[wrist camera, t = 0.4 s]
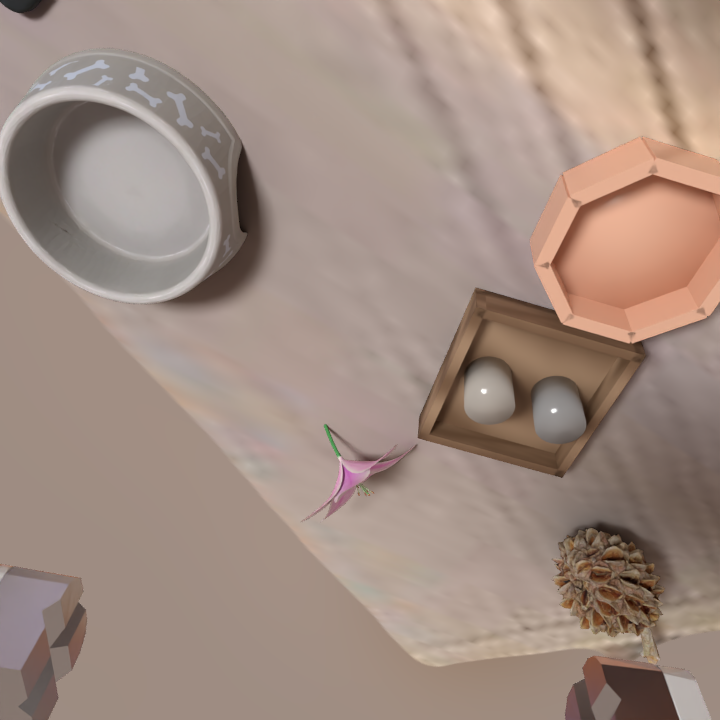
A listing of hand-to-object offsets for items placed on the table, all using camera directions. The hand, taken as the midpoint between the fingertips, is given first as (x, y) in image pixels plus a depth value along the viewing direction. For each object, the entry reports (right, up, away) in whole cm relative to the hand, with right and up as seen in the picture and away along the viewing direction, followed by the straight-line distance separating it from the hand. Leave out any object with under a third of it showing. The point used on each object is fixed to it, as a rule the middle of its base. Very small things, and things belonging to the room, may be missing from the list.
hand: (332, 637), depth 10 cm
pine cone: (+28, -17, +59) cm, 67 cm away
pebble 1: (+11, +3, +45) cm, 46 cm away
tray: (+14, +3, +46) cm, 48 cm away
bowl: (+20, +14, +36) cm, 44 cm away
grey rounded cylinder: (+17, +2, +45) cm, 48 cm away
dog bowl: (-16, +18, +39) cm, 46 cm away
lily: (+1, -4, +53) cm, 53 cm away
